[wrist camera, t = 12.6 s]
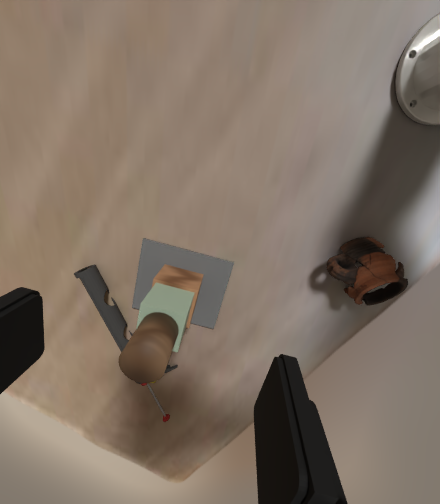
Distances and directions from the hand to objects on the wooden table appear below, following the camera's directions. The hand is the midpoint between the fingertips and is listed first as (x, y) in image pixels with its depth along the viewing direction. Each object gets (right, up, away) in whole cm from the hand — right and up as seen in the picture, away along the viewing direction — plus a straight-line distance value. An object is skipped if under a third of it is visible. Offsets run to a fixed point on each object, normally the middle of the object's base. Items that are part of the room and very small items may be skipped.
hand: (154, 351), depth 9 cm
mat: (-5, -2, +32) cm, 33 cm away
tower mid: (-5, -4, +26) cm, 27 cm away
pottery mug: (+25, +2, +30) cm, 39 cm away
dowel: (-5, -6, +21) cm, 22 cm away
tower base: (-5, -2, +32) cm, 32 cm away
